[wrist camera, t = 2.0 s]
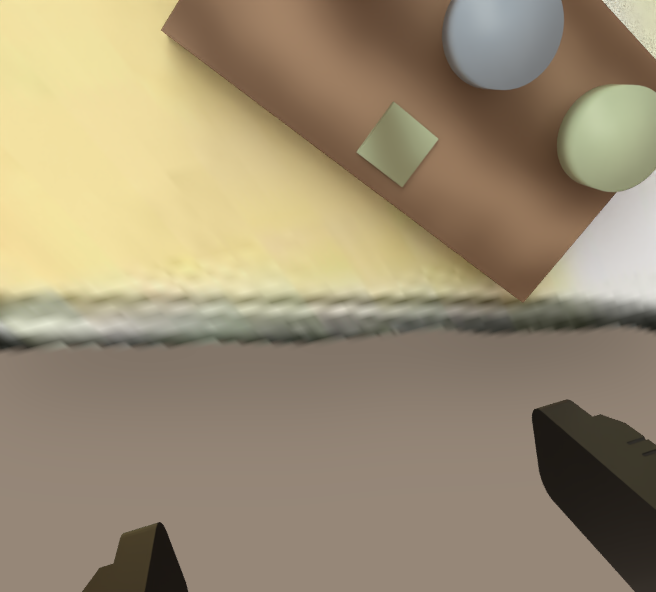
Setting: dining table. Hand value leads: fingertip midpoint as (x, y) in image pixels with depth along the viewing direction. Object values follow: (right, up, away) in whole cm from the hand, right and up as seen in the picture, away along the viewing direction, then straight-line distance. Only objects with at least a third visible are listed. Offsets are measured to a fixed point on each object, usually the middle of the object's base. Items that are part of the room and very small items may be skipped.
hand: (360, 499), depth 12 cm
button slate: (+7, +16, +14) cm, 23 cm away
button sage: (+13, +12, +17) cm, 25 cm away
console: (+5, +17, +19) cm, 26 cm away
